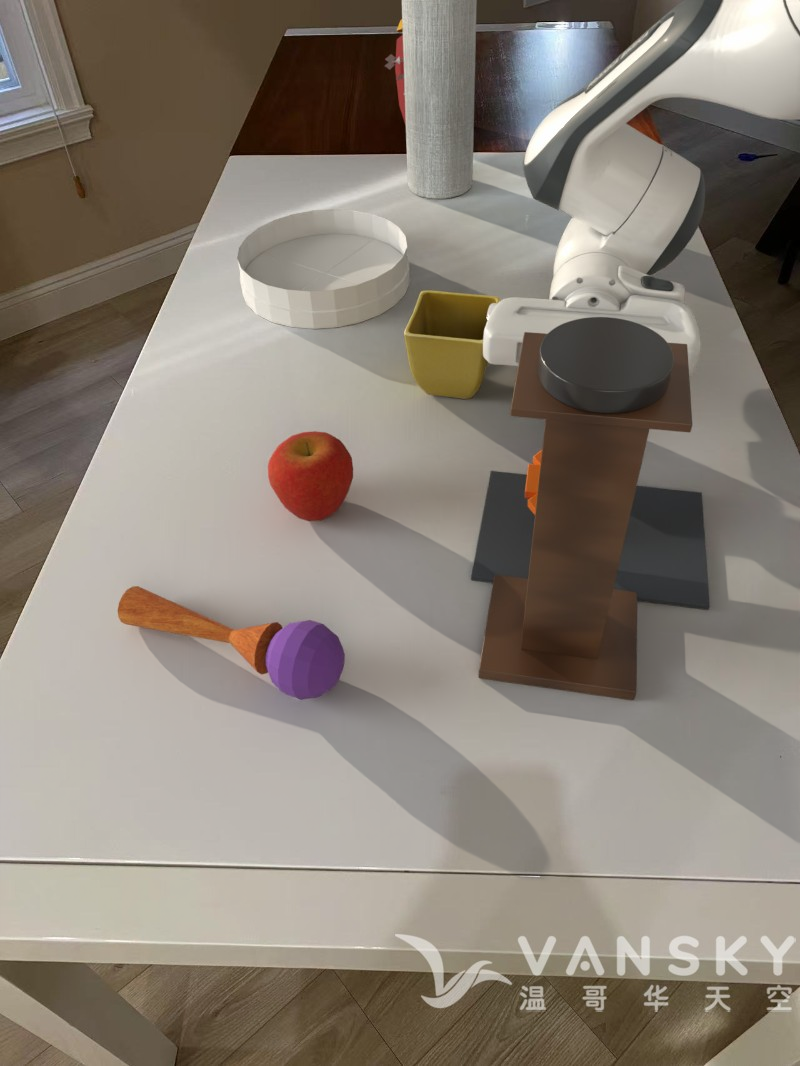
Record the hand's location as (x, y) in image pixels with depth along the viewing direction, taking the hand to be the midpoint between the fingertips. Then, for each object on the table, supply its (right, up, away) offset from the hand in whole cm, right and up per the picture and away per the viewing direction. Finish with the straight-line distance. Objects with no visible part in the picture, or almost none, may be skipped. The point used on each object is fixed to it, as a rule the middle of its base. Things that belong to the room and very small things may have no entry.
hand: (585, 387), depth 75 cm
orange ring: (0, -5, 0) cm, 5 cm away
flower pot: (-11, +3, +18) cm, 21 cm away
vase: (-11, +41, +54) cm, 68 cm away
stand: (-4, -22, -7) cm, 23 cm away
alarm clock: (-14, +58, +70) cm, 92 cm away
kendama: (-30, -23, -7) cm, 39 cm away
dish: (-27, +20, +34) cm, 48 cm away
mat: (+1, -13, +1) cm, 14 cm away
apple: (-25, -11, +5) cm, 27 cm away
